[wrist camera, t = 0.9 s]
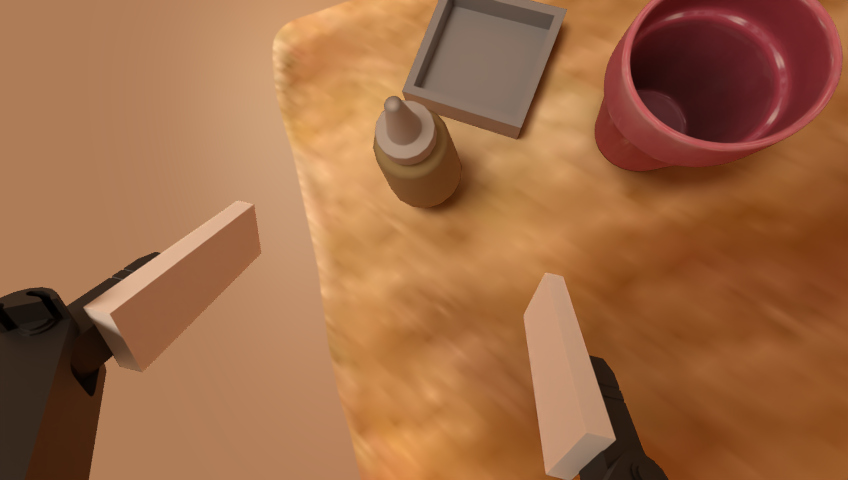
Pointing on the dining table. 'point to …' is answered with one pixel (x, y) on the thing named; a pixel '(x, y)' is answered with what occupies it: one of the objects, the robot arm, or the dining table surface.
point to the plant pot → (715, 80)
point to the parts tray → (484, 61)
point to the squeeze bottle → (416, 153)
